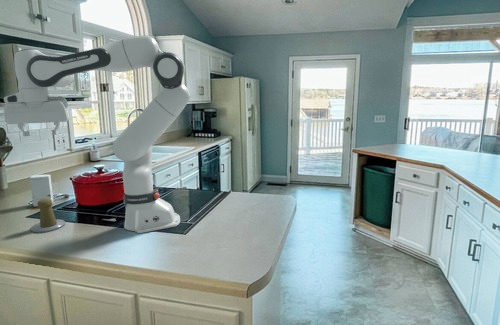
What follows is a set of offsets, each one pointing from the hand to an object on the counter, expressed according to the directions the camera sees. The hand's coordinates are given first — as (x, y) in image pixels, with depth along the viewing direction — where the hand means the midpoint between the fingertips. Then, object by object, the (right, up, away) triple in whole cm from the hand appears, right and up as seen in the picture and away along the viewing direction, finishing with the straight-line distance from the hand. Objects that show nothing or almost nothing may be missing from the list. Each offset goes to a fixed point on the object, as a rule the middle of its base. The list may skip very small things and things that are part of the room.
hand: (41, 135), depth 119 cm
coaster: (-7, -37, +15) cm, 40 cm away
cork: (-7, -36, +15) cm, 40 cm away
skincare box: (-27, -31, +45) cm, 61 cm away
